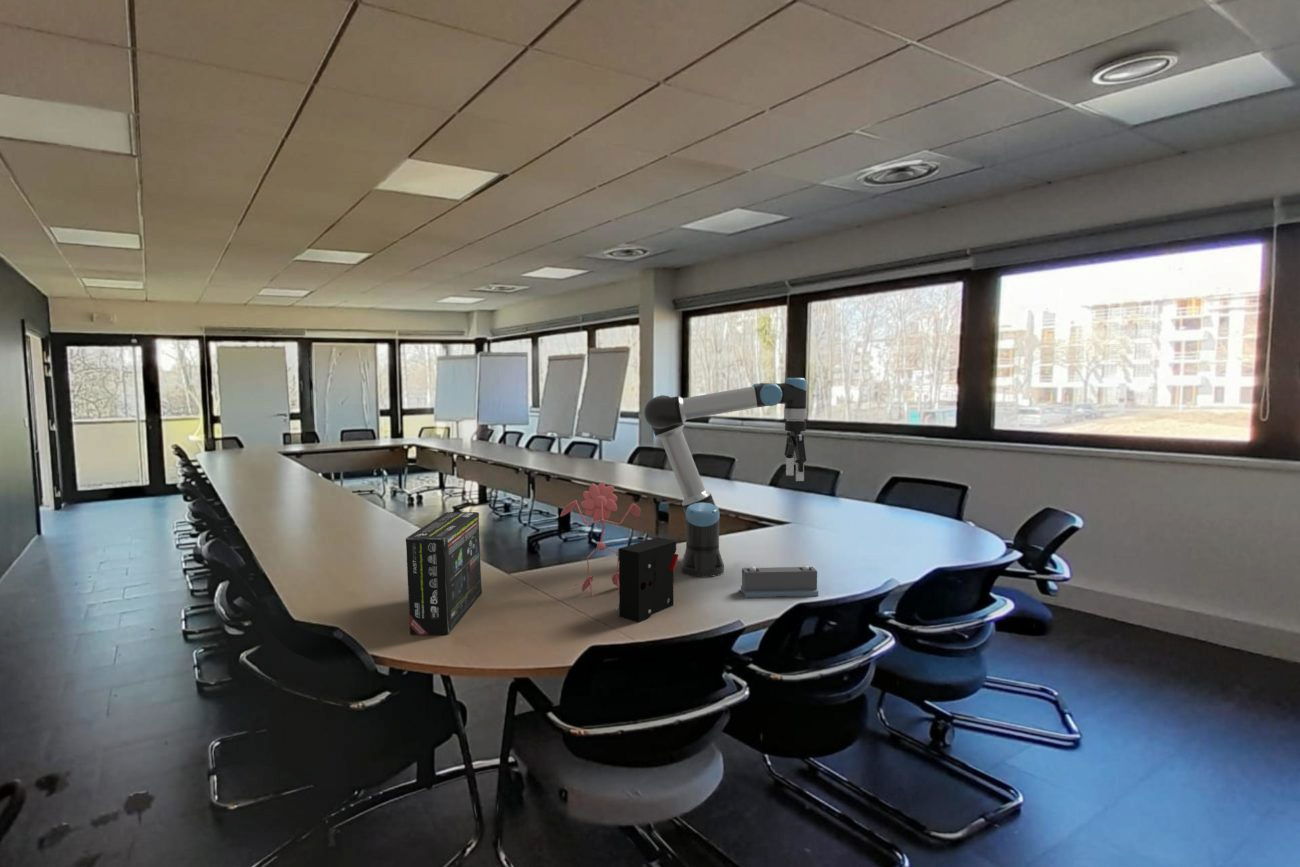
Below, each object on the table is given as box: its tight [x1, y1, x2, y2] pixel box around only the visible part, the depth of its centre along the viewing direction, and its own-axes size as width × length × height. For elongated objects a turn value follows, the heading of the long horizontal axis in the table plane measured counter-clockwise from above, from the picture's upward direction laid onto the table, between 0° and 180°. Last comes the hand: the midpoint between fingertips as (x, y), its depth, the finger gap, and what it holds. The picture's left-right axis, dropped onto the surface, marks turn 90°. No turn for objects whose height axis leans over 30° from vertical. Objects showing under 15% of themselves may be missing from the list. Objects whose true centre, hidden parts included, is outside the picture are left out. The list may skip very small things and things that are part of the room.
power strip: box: [741, 566, 818, 591], centre depth 214 cm, size 23×5×6 cm, turn 93°
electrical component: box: [615, 536, 679, 623], centre depth 198 cm, size 18×10×20 cm, turn 141°
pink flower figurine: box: [560, 482, 642, 597], centre depth 218 cm, size 15×26×35 cm, turn 110°
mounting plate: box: [740, 564, 819, 598], centre depth 214 cm, size 23×8×9 cm, turn 93°
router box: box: [405, 511, 483, 636], centre depth 196 cm, size 36×11×27 cm, turn 0°
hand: (794, 478), depth 247 cm, fingers open, 13 cm apart
